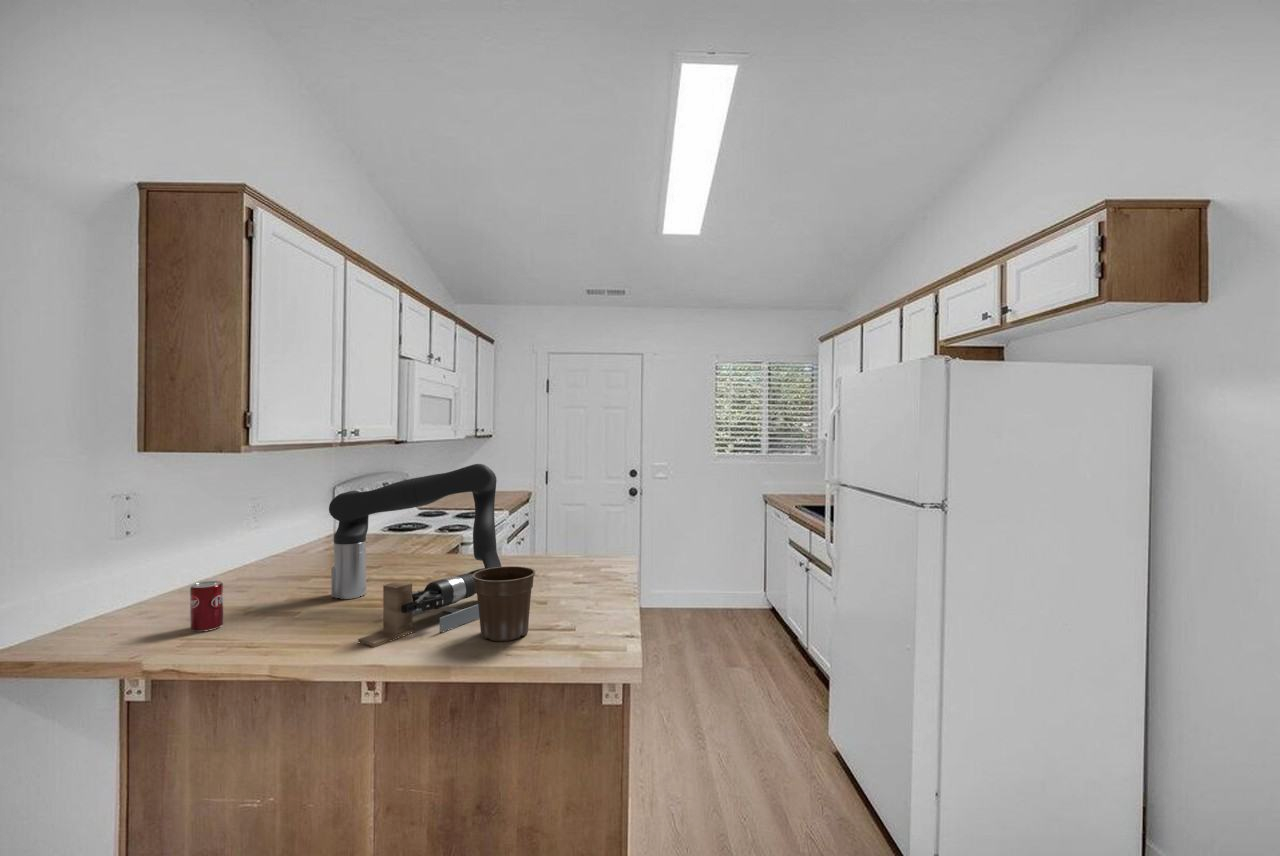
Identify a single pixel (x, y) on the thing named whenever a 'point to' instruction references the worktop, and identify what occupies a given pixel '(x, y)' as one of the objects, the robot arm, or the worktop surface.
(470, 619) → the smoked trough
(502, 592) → the plant pot
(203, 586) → the soda can
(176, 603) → the worktop surface
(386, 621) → the walnut post stand
